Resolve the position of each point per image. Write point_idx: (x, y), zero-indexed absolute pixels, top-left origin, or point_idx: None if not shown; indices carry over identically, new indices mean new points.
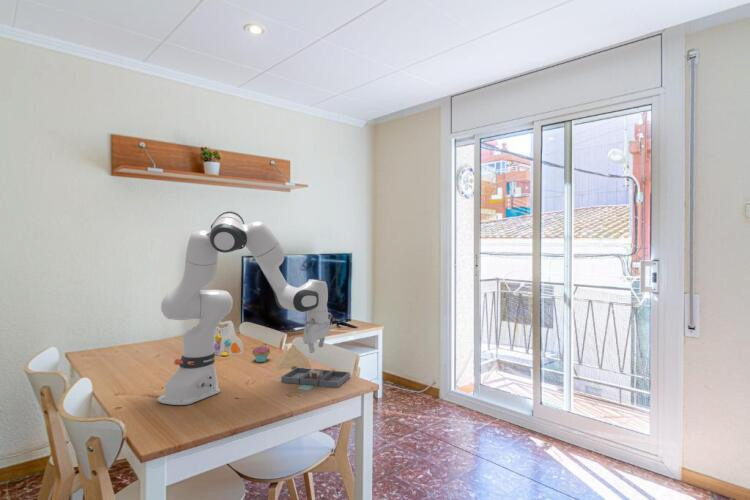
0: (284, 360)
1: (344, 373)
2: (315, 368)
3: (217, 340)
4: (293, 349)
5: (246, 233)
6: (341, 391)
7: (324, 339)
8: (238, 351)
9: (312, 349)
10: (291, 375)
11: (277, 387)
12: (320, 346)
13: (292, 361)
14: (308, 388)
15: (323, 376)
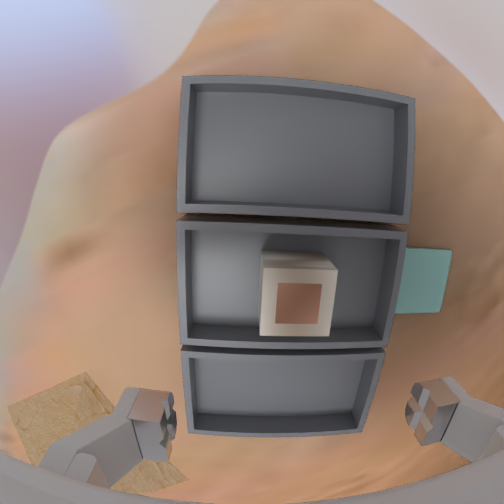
0: (139, 489)
1: (189, 115)
2: (262, 323)
3: None
4: None
5: None
6: (421, 80)
7: (73, 437)
8: None
9: (463, 403)
10: (265, 418)
11: (408, 396)
12: (168, 413)
13: None
14: (435, 260)
15: (325, 227)
